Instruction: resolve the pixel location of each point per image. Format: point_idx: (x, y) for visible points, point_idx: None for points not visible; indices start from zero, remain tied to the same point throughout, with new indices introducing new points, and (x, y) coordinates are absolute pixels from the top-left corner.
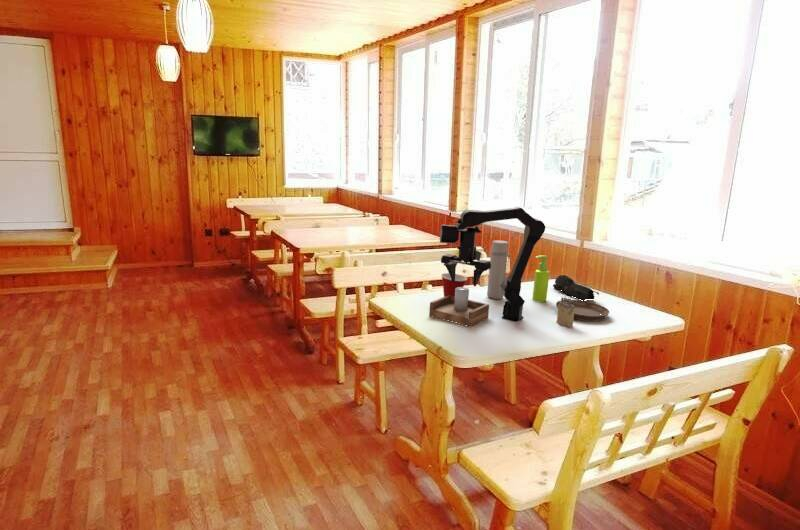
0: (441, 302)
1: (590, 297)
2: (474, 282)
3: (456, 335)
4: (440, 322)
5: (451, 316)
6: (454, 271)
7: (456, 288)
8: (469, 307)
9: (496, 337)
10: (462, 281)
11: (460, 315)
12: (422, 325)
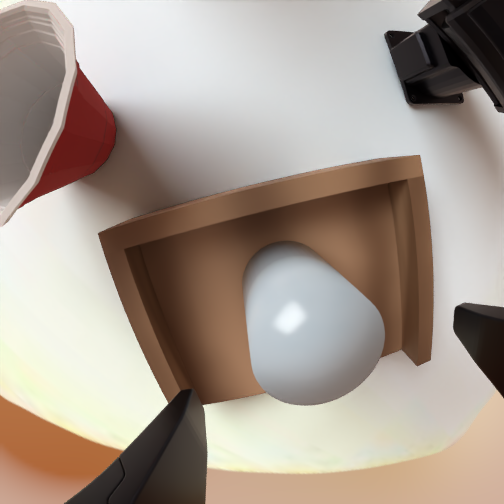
0: (166, 342)
1: None
2: (488, 362)
3: (398, 411)
4: None
5: None
6: (164, 497)
7: (274, 387)
8: (294, 207)
9: None
10: (70, 90)
11: None
12: (266, 450)
